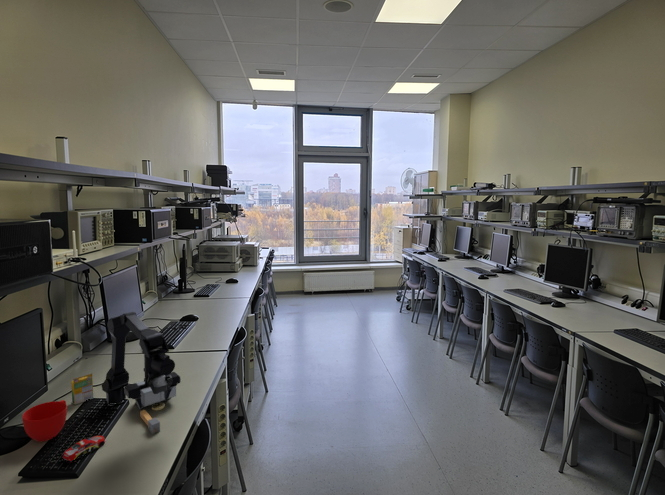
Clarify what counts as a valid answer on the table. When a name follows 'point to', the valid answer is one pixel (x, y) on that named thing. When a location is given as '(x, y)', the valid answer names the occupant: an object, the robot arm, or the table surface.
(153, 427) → the gray mallet
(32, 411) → the red spouted bowl
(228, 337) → the table surface
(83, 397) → the crayon box
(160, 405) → the disc
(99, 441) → the race car
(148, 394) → the cabinet
